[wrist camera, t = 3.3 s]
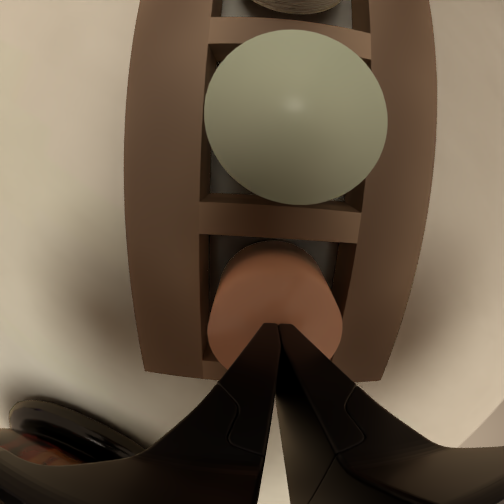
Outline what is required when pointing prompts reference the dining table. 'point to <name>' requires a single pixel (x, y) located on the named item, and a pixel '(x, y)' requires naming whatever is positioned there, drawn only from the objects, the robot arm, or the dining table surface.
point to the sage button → (295, 117)
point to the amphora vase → (61, 436)
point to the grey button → (298, 5)
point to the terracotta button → (272, 299)
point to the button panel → (261, 209)
